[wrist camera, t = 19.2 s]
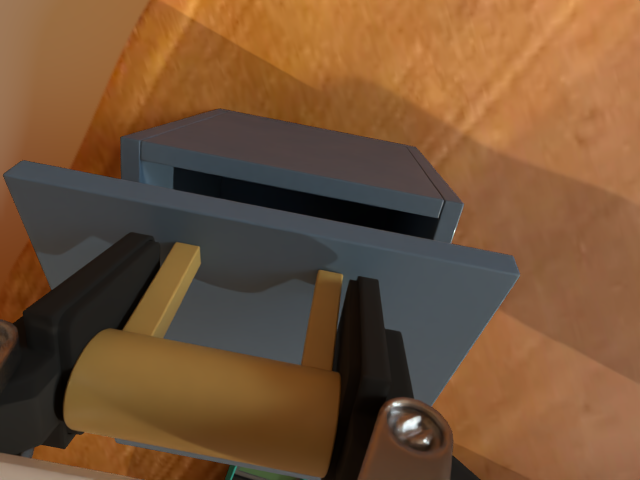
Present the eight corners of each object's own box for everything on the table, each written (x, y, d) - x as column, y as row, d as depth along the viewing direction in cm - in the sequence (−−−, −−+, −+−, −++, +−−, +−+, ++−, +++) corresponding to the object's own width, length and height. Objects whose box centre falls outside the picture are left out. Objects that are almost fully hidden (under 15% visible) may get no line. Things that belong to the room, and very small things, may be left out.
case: (219, 108, 28) (119, 136, 16) (416, 146, 28) (464, 204, 16) (203, 302, 34) (124, 428, 22) (365, 334, 34) (373, 476, 22)
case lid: (21, 158, 11) (-221, 333, 7) (514, 254, 11) (600, 491, 7) (123, 427, 22) (56, 563, 17) (373, 476, 22) (370, 623, 17)
